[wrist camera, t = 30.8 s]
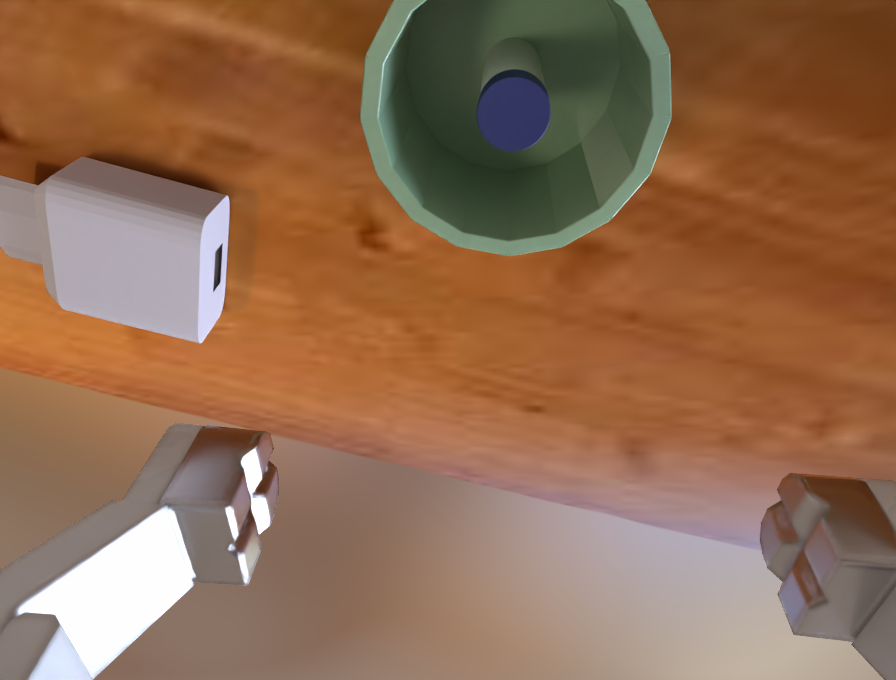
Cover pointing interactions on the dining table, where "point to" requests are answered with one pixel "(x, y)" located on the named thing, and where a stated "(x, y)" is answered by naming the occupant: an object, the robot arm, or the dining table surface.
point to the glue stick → (513, 96)
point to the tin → (551, 158)
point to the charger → (123, 245)
